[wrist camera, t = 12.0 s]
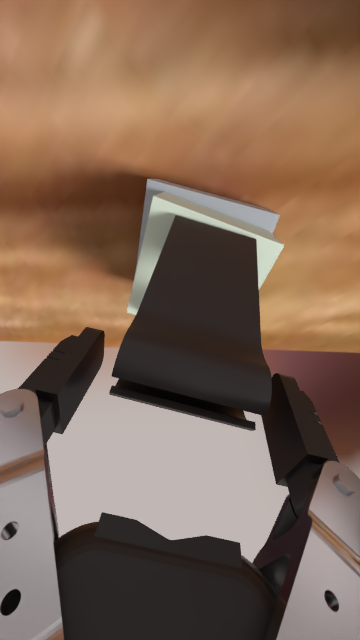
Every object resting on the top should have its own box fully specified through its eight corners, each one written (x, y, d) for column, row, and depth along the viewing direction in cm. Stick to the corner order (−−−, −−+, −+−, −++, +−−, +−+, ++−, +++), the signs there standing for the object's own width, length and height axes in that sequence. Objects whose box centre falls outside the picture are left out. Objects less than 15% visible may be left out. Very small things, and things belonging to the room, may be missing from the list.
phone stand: (176, 213, 16) (125, 274, 6) (256, 238, 17) (332, 333, 6) (152, 316, 21) (100, 445, 11) (214, 333, 21) (220, 475, 11)
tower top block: (269, 231, 21) (284, 245, 17) (224, 318, 26) (227, 345, 22) (164, 191, 20) (153, 195, 16) (140, 289, 25) (126, 312, 21)
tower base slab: (267, 208, 24) (280, 215, 20) (229, 304, 31) (232, 324, 27) (157, 178, 24) (147, 178, 20) (142, 282, 30) (131, 299, 26)
